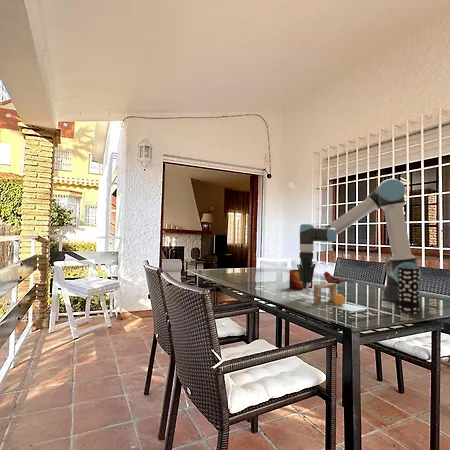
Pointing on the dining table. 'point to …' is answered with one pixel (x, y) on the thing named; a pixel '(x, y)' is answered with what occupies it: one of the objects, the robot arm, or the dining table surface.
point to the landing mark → (349, 307)
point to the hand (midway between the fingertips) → (306, 294)
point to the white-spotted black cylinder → (408, 290)
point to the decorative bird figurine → (332, 278)
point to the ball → (339, 299)
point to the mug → (296, 281)
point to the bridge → (318, 292)
